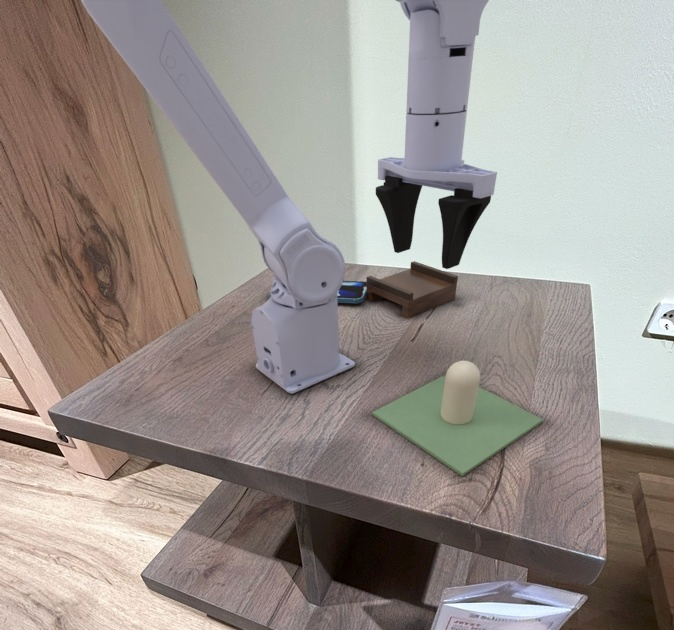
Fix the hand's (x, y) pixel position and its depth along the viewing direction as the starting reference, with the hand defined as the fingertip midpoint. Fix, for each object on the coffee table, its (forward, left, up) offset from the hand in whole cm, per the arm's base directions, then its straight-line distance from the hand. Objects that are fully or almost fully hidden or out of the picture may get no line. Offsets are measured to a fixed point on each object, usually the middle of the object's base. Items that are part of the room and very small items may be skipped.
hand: (425, 258), depth 52 cm
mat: (-9, -14, -10) cm, 20 cm away
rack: (+9, +10, -10) cm, 17 cm away
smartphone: (0, +21, -10) cm, 24 cm away
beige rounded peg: (-9, -14, -10) cm, 20 cm away
